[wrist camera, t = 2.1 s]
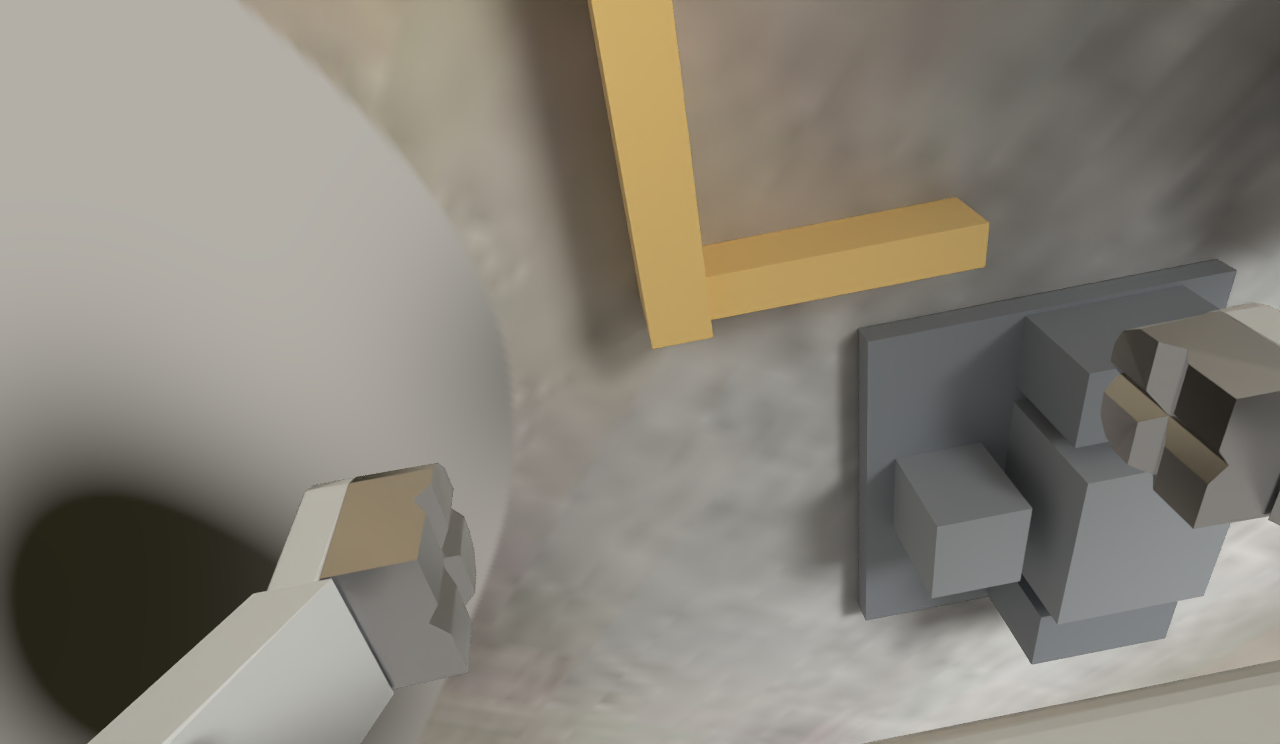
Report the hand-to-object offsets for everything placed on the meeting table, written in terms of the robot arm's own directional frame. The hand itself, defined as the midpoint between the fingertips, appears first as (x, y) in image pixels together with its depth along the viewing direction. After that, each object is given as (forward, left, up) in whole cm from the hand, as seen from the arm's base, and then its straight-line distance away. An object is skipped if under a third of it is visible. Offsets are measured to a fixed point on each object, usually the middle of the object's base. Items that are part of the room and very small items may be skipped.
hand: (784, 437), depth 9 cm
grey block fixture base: (-14, +18, -17) cm, 29 cm away
